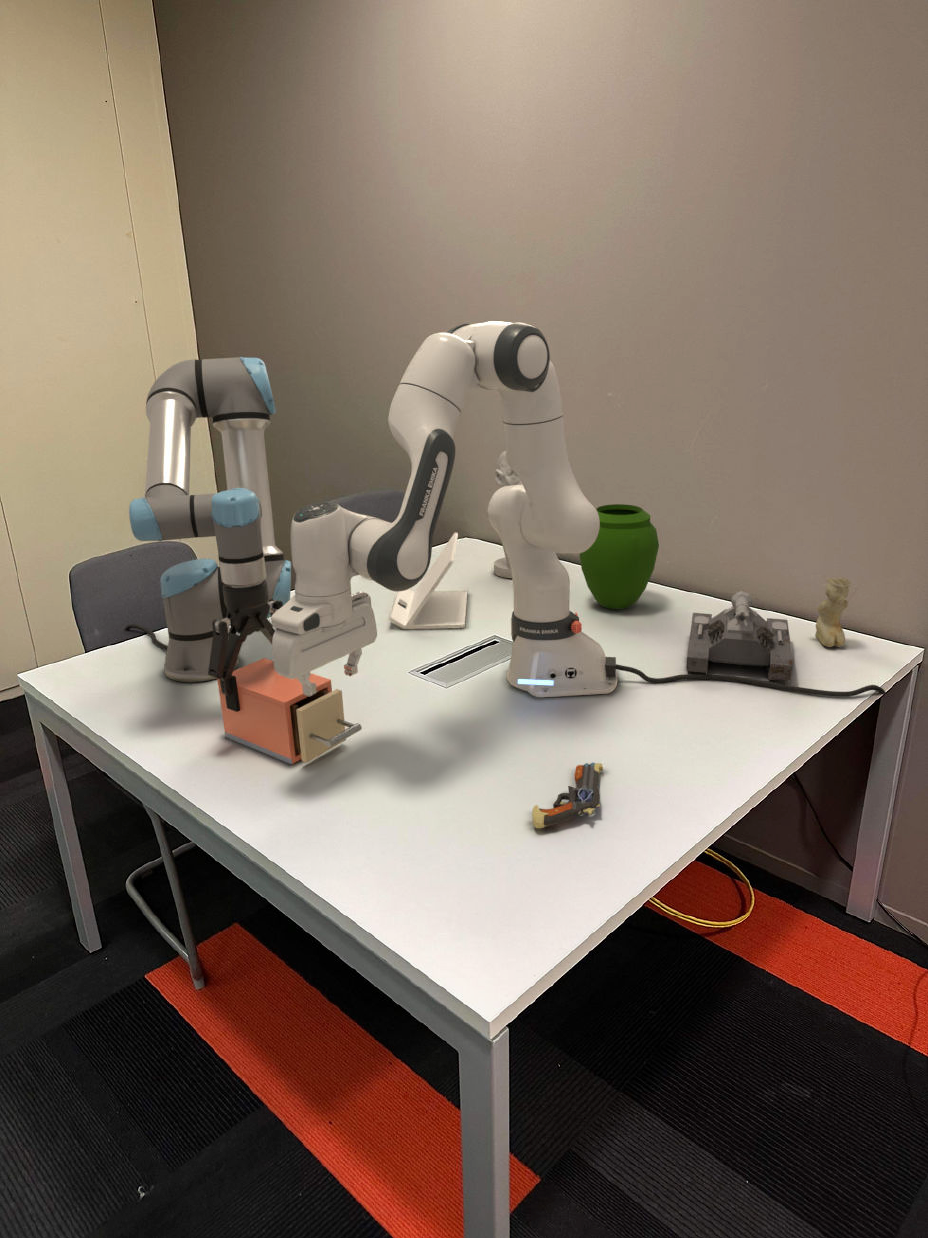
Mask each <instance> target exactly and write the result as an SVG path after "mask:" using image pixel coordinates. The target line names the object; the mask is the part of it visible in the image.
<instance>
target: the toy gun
mask: <svg viewBox="0 0 928 1238" xmlns="http://www.w3.org/2000/svg"><path fill="white" fill-rule="evenodd" d="M600 772H604V765H603V764H602V763H601V762H597V763H595V762H590V763H589V762H586V763H584V764H577V765H576V766H575V770H574V775H573V776H574V781H575V782H576V786H575V787H574V786H571V785H568V786H567V788H568V792H561V793H559V794H557V798H556V800H555V801H554V803H553V804H552V806H553V808H540V807H539V806H538V804H536V805H534V806H533V808H532V811H531V815H532V824H533V827H534V828H535V829H544V828H545V827H549V826H554V825H557V824H559V823H562V822H565V821H568V820H571V819H573V820H574V819H575V818H577V817H580V816H582V815H585V814H588V816H591V815H592V814H593V812H594V811H595V809H596V808H599V807H601V803H600V801H601V793H600V790H599V778H600ZM577 800H578V801H577ZM563 801H567V802H563Z"/></svg>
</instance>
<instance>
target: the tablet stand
mask: <svg viewBox="0 0 928 1238" xmlns="http://www.w3.org/2000/svg"><path fill="white" fill-rule="evenodd" d="M458 537H459V533H458V532H456V531H455V532H453V534H452V535H451V537H450V539H449V540H448V542H447V543H446V544H445V546H444V548H443V549H442V551H441V552H440V554H439V555H438V556H437V558H436V559H435V561H434V562H433V564H432V565H431V567H430V568H429V569H428V570H427V572H426V574H425V575H424V577H423V578H422V579H421V580H420V583H418V585H417V587H416V589H415V590H412V589H411V588H410V589H407V590H405V591H396V595H395V598H394V601H393V604H392V607H391V610H390V612H389V613H390V614H389V617H388V621H389V622H391V623H392V624H394V625H396V626H398V627H399V628H401V629H402V630H426V629H427V630H429V629H430V630H431V629H435V630H436V629H437V630H438V629H464V628H465V627H466V618H467V617H466V616H467V605H468V591H467V590H436V589H437V587H438V585H440V582H441V581H442V580H443V578H444V577H445V575H446V574H447V573H448V571H449V570H450V569H451V567H452V566H453V564H454V562H455V558H456V553H457V545H458ZM399 603H400V604H399ZM402 605H403V606H405V607H403V606H402Z"/></svg>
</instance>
